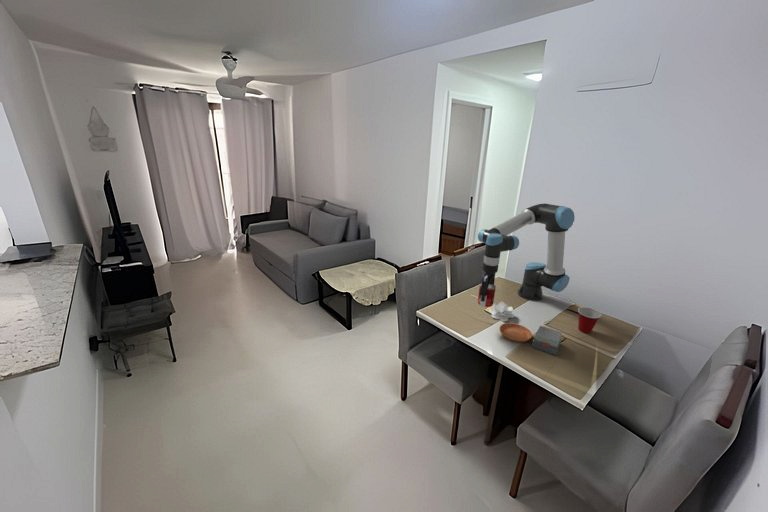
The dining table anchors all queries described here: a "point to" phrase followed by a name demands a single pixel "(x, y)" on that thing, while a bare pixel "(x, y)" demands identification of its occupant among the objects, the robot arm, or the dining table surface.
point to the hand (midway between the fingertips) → (485, 303)
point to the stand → (547, 340)
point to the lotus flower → (501, 311)
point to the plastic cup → (587, 319)
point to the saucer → (515, 332)
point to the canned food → (488, 295)
